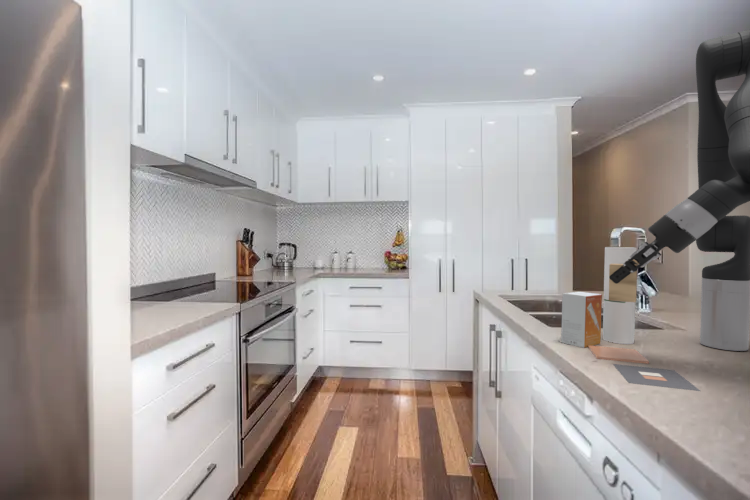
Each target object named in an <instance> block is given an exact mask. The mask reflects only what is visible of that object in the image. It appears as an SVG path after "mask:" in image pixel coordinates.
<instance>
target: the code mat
mask: <svg viewBox="0 0 750 500" xmlns="http://www.w3.org/2000/svg"><path fill="white" fill-rule="evenodd" d="M612 365H613V366H614V368H615V369H616V370H617V371H618V372H619V374H620V375H621V376H622V377H623V378H624V379H625V381H626V382H627V383H628V384H632V385H643V386H644V385H645V386H652V387H659V388H669V389H677V390H678V389H679V390H680V389H681V390H686V391H687V390H689V391H696V392H701V389H699V388H698V387H696V386H695V385H694V384H692V383H691V382H690V381H689V380H688V379H687V378H685V377H684V376H682V375H681V374H680V373H679V372H678V371H676V370H674V369H668V368H659V367H658V368H657V367H647V366H638V365H637V366H636V365H629V364H628V365H627V364H617V363H612Z"/></svg>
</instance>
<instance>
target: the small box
mask: <svg viewBox="0 0 750 500" xmlns="http://www.w3.org/2000/svg"><path fill="white" fill-rule="evenodd" d="M561 295H562V297H561V298H562V299H561V302H562V303H561V333H560V335H561V336H560V338H561V339H560V342H561V343H562V344H566V345H570V346H573V347H579V348H588V345H591V346H598V345H601V342H602V341H601V340H602V339H601V335H602V334H601V333H602V311H603V309H602V307H603V305H602V303H603V294H601V293H593V292H587V291H572V292H565V293H562V294H561Z"/></svg>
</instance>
